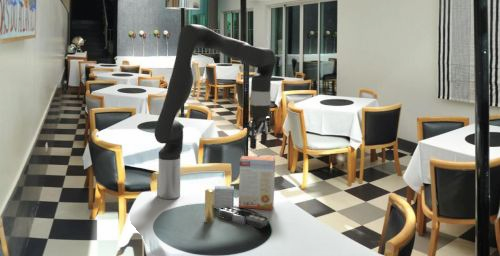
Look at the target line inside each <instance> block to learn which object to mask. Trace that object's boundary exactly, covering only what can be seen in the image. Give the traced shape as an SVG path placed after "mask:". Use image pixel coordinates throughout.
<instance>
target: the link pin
mask: <svg viewBox="0 0 500 256" xmlns="http://www.w3.org/2000/svg"><path fill="white" fill-rule="evenodd" d="M214 194H215V190H214V189H212V188H209V189H205V190H204V222H205V221H206V222H212V223H214V222H215V209H214ZM213 221H214V222H213ZM206 222H205V223H206Z"/></svg>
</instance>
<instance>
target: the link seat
mask: <svg viewBox="0 0 500 256" xmlns="http://www.w3.org/2000/svg"><path fill="white" fill-rule="evenodd" d="M240 210H241V216H240V215H237V214H233V221H232V223H236V224H238V225H243V226H244V225H246V224H245V220H246V216H248V217H249V215H251V213H254V212H253V211H250V210H246V209H243V208H241V209H240Z"/></svg>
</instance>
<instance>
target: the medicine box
mask: <svg viewBox="0 0 500 256" xmlns="http://www.w3.org/2000/svg"><path fill="white" fill-rule="evenodd" d="M234 188H235V187H234V186H233V185H214V189H213V190H215V194H214V208H225V206H228V207H232V208H235V206H234V205H235V204H234V201H235V200H234V199H235V198H234V197H235V189H234Z"/></svg>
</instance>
